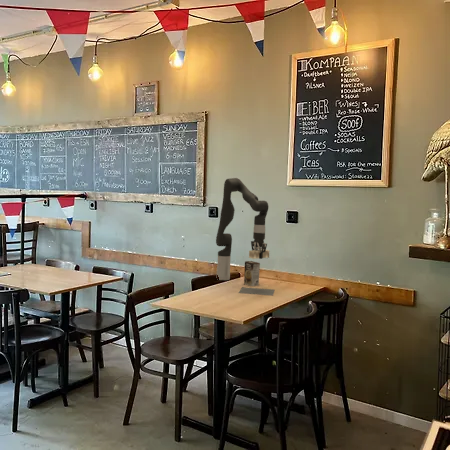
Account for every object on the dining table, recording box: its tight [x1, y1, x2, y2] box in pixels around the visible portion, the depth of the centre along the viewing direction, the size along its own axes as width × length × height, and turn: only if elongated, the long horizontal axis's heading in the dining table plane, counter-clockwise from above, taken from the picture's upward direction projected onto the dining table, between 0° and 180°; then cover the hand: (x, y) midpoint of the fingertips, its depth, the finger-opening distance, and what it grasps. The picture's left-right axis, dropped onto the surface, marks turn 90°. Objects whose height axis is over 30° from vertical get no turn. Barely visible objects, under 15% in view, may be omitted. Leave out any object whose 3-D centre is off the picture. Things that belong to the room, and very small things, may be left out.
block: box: [248, 249, 270, 260], centre depth 304 cm, size 5×5×13 cm
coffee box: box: [243, 260, 261, 287], centre depth 325 cm, size 9×6×16 cm
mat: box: [238, 286, 276, 296], centre depth 306 cm, size 22×17×1 cm
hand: (258, 257), depth 304 cm, fingers closed on block, 4 cm apart
